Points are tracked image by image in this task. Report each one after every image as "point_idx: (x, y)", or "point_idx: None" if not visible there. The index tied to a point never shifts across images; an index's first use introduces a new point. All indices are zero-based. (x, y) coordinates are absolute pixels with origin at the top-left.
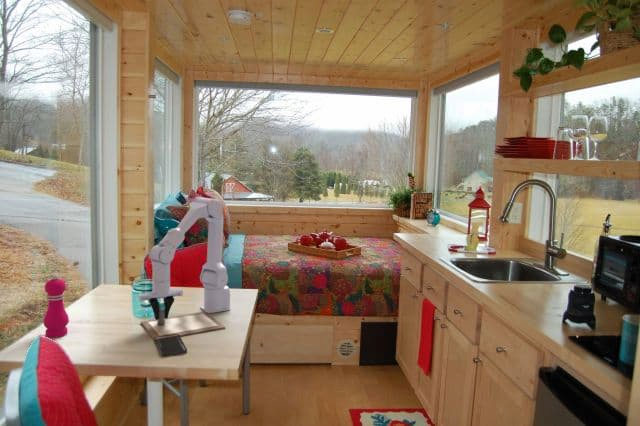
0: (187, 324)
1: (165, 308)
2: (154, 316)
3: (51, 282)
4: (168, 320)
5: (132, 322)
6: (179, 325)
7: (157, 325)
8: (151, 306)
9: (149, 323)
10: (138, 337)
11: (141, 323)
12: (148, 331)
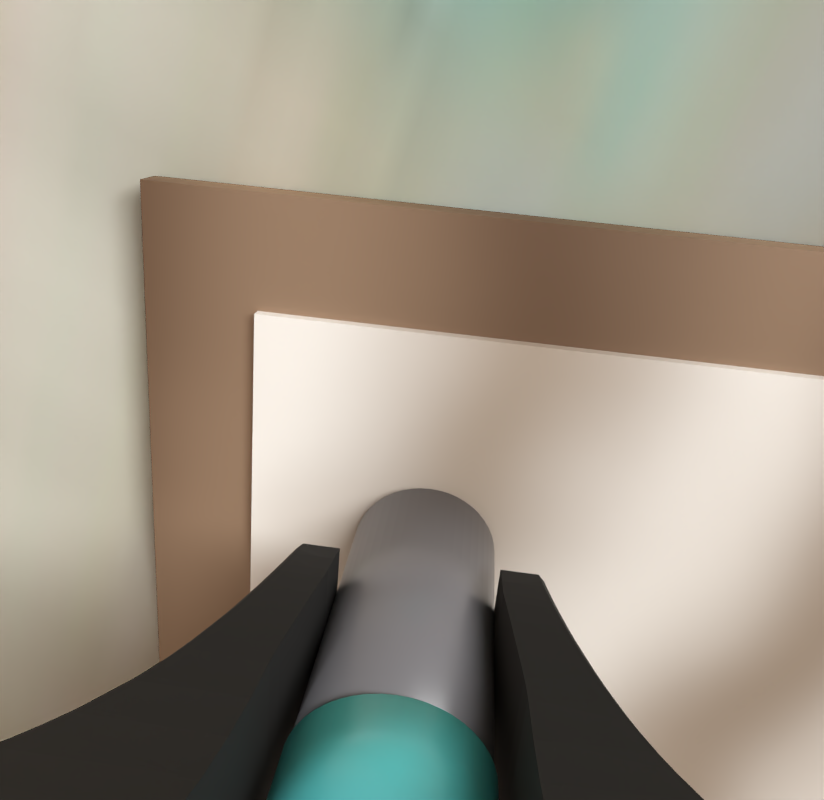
0: (789, 775)
1: (507, 798)
2: (284, 561)
3: None
4: (628, 440)
5: (13, 9)
6: (656, 746)
7: (345, 562)
8: (121, 695)
9: (253, 395)
10: (15, 705)
11: (150, 223)
12: (163, 654)
